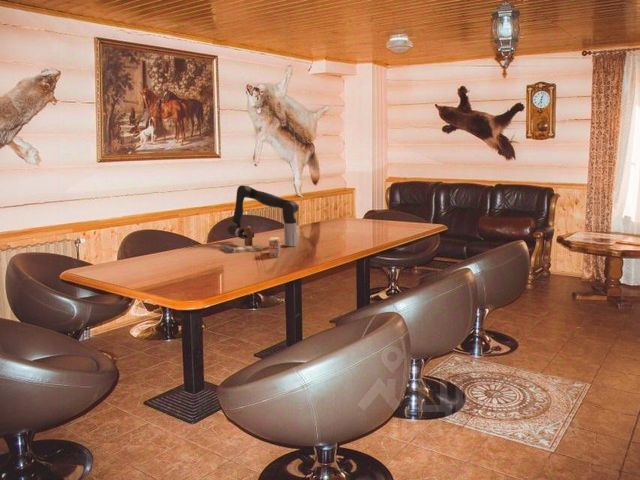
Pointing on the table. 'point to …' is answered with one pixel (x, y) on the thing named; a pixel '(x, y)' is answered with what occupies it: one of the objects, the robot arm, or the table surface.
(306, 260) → the table surface
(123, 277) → the table surface
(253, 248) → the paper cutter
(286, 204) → the robot arm
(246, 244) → the brown pillar with knob
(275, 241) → the stack of blocks
